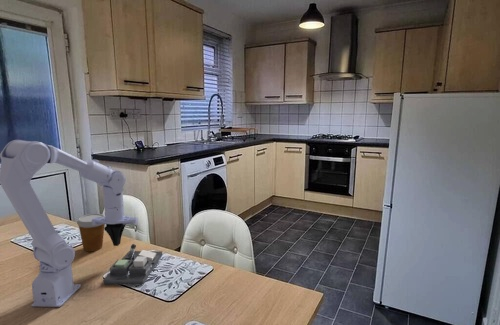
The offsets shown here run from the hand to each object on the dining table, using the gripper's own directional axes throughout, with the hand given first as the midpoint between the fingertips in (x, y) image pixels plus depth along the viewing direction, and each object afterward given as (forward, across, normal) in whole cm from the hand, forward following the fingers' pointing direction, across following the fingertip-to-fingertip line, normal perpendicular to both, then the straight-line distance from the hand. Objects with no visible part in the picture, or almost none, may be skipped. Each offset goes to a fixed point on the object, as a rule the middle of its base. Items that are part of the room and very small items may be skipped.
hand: (117, 244), depth 97 cm
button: (+5, -4, +6) cm, 9 cm away
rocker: (+4, -10, 0) cm, 11 cm away
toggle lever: (+5, -4, 0) cm, 6 cm away
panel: (+7, -7, +3) cm, 10 cm away
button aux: (+4, -10, +6) cm, 12 cm away
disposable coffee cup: (+7, +15, -11) cm, 20 cm away
